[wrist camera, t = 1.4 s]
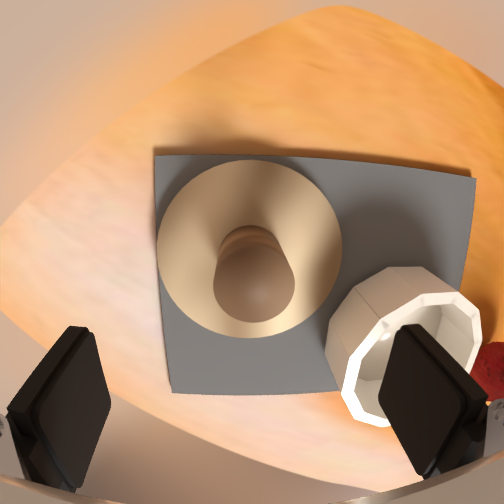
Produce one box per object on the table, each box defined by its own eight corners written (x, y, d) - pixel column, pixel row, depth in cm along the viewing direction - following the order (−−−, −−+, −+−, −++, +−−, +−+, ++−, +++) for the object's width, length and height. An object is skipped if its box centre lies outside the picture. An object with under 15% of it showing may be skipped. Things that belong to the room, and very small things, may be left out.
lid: (343, 164, 20) (382, 169, 14) (327, 329, 24) (351, 377, 18) (158, 160, 20) (127, 162, 14) (166, 329, 23) (148, 378, 17)
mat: (472, 177, 21) (476, 178, 21) (429, 373, 26) (432, 377, 26) (157, 155, 20) (154, 155, 20) (173, 388, 25) (172, 392, 25)
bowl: (456, 263, 23) (497, 288, 17) (426, 374, 26) (453, 410, 20) (333, 264, 22) (360, 296, 17) (316, 388, 25) (330, 434, 20)
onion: (456, 343, 26) (502, 390, 18) (497, 319, 25) (545, 357, 18) (454, 384, 27) (491, 430, 20) (493, 360, 27) (533, 400, 19)
